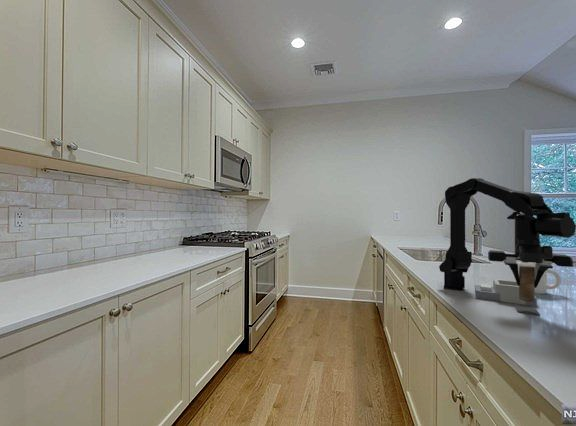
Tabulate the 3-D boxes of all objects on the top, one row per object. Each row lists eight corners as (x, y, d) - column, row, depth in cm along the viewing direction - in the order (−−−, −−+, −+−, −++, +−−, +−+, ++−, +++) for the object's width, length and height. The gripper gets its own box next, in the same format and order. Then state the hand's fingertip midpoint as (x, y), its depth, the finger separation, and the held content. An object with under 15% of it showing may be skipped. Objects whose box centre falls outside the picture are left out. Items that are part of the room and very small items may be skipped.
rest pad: (517, 312, 82) (517, 310, 82) (515, 307, 87) (515, 306, 87) (540, 315, 80) (540, 314, 80) (536, 310, 84) (536, 309, 84)
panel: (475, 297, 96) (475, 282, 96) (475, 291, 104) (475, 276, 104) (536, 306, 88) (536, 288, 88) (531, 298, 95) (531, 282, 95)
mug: (560, 292, 102) (560, 264, 102) (561, 297, 96) (561, 268, 96) (518, 286, 110) (518, 261, 110) (517, 291, 104) (517, 264, 104)
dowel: (520, 300, 83) (520, 267, 83) (518, 297, 86) (518, 265, 86) (535, 302, 81) (535, 268, 81) (533, 299, 84) (533, 266, 84)
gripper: (490, 235, 81) (490, 288, 82) (580, 238, 71) (579, 298, 72) (487, 232, 91) (487, 280, 91) (566, 235, 81) (566, 288, 81)
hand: (526, 286), depth 83 cm, fingers closed on dowel, 3 cm apart
